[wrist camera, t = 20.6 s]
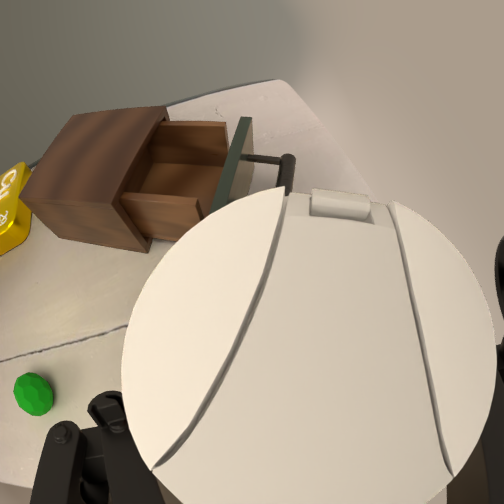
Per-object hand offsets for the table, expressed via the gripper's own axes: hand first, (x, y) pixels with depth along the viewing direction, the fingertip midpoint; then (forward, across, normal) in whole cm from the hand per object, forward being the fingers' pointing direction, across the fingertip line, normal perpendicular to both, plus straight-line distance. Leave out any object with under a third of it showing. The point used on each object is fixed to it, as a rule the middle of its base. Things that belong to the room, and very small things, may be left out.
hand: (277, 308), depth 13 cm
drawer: (+21, -4, +2) cm, 22 cm away
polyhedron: (+7, -27, -13) cm, 31 cm away
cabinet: (+25, -17, +5) cm, 30 cm away
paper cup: (+1, 0, -6) cm, 6 cm away
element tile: (+27, -41, +6) cm, 49 cm away
